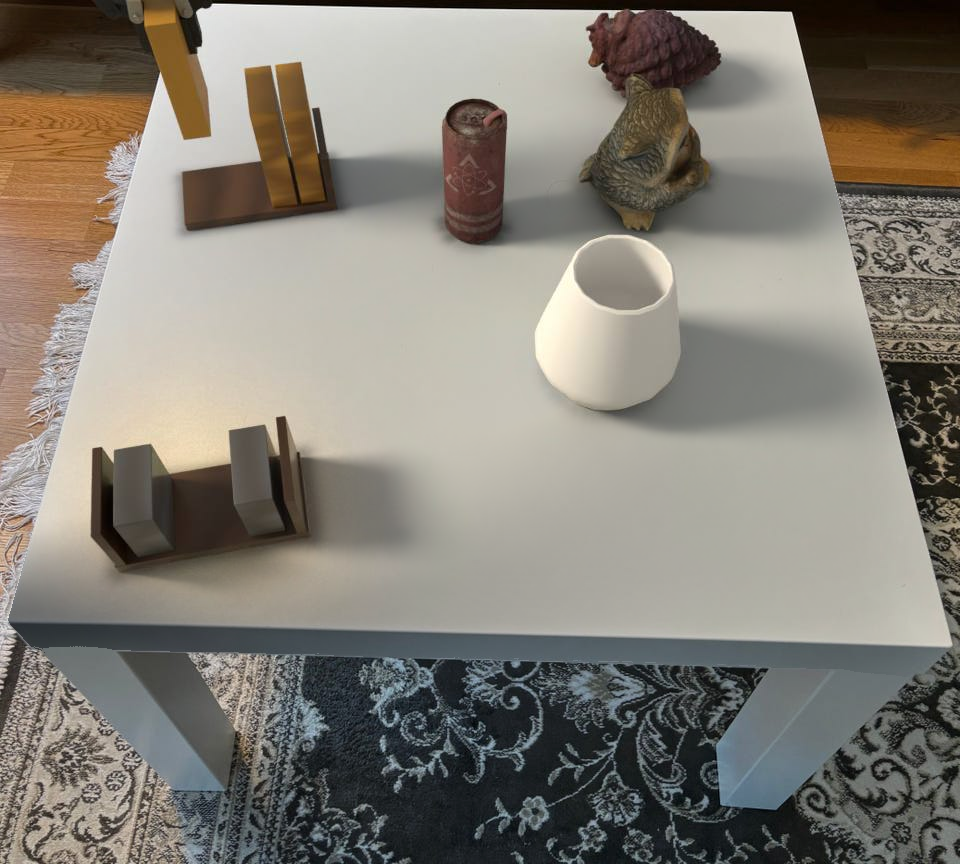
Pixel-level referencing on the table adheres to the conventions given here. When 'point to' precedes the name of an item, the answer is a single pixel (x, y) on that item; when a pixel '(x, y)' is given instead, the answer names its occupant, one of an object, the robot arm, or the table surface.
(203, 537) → the brown book rack
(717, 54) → the pine cone
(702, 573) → the table surface
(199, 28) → the robot arm
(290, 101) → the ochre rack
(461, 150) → the can
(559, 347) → the cup
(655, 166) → the figurine
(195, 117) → the ochre book
